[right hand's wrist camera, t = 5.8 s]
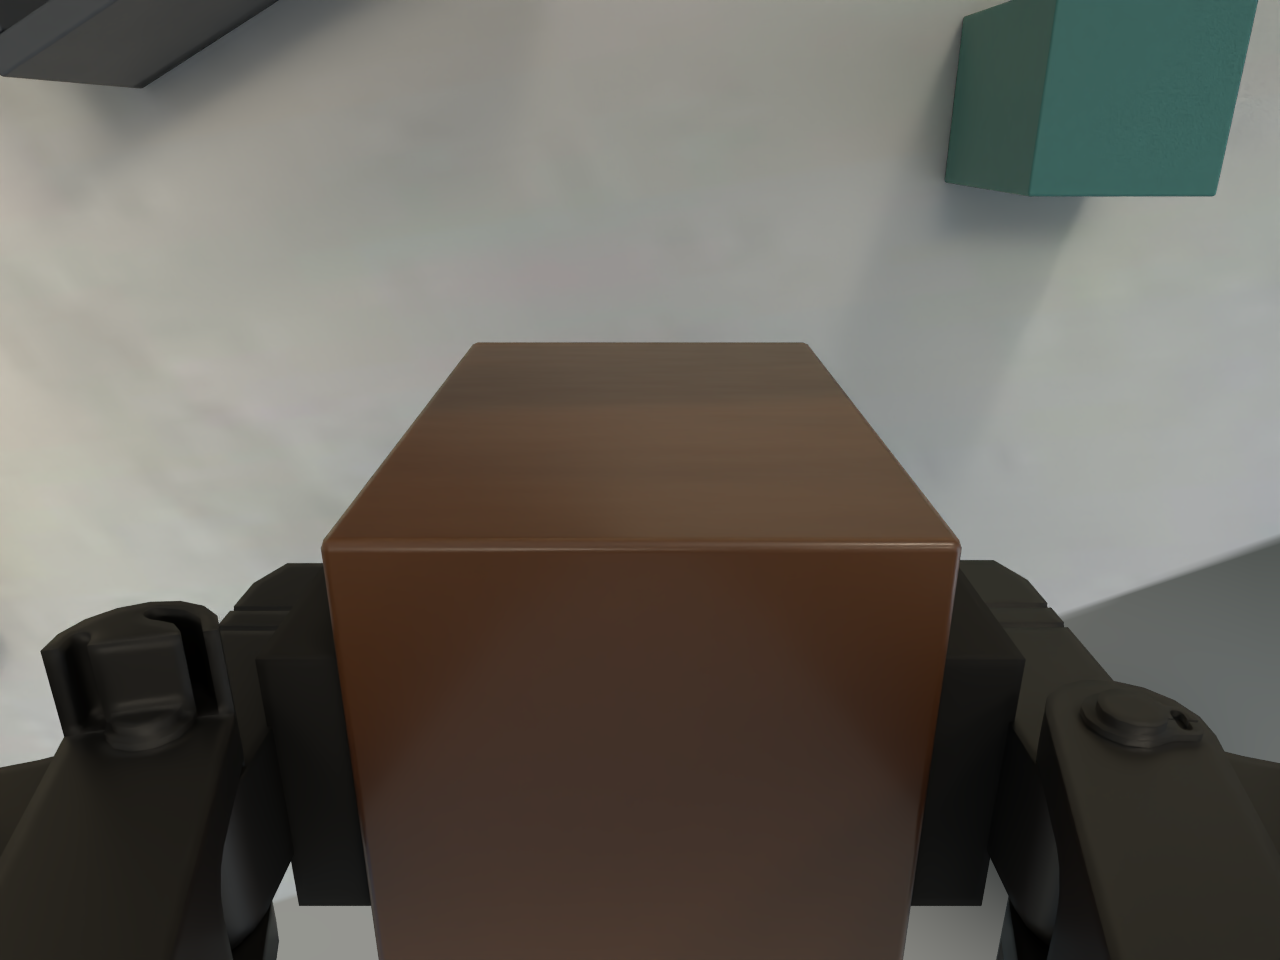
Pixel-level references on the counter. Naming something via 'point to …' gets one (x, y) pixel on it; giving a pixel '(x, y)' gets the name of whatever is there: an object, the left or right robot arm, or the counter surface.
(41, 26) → the box
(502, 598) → the walnut block
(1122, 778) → the right robot arm
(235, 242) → the counter surface
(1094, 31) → the teal block
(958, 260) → the counter surface
